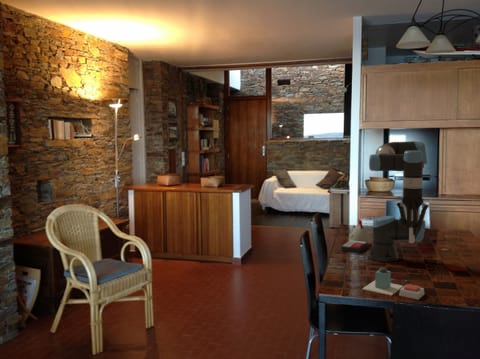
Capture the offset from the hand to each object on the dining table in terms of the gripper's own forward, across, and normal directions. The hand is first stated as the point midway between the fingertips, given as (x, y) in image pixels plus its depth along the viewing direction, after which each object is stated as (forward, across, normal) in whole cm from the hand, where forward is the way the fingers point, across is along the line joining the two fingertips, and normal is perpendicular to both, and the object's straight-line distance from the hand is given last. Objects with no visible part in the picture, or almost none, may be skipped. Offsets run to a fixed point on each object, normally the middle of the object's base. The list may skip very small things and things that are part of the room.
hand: (411, 242), depth 188 cm
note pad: (+22, -12, -1) cm, 25 cm away
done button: (+21, +1, -2) cm, 21 cm away
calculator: (+24, -51, +56) cm, 80 cm away
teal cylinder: (+22, -12, -1) cm, 25 cm away
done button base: (+22, +1, -2) cm, 23 cm away
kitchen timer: (+24, -54, +70) cm, 92 cm away
